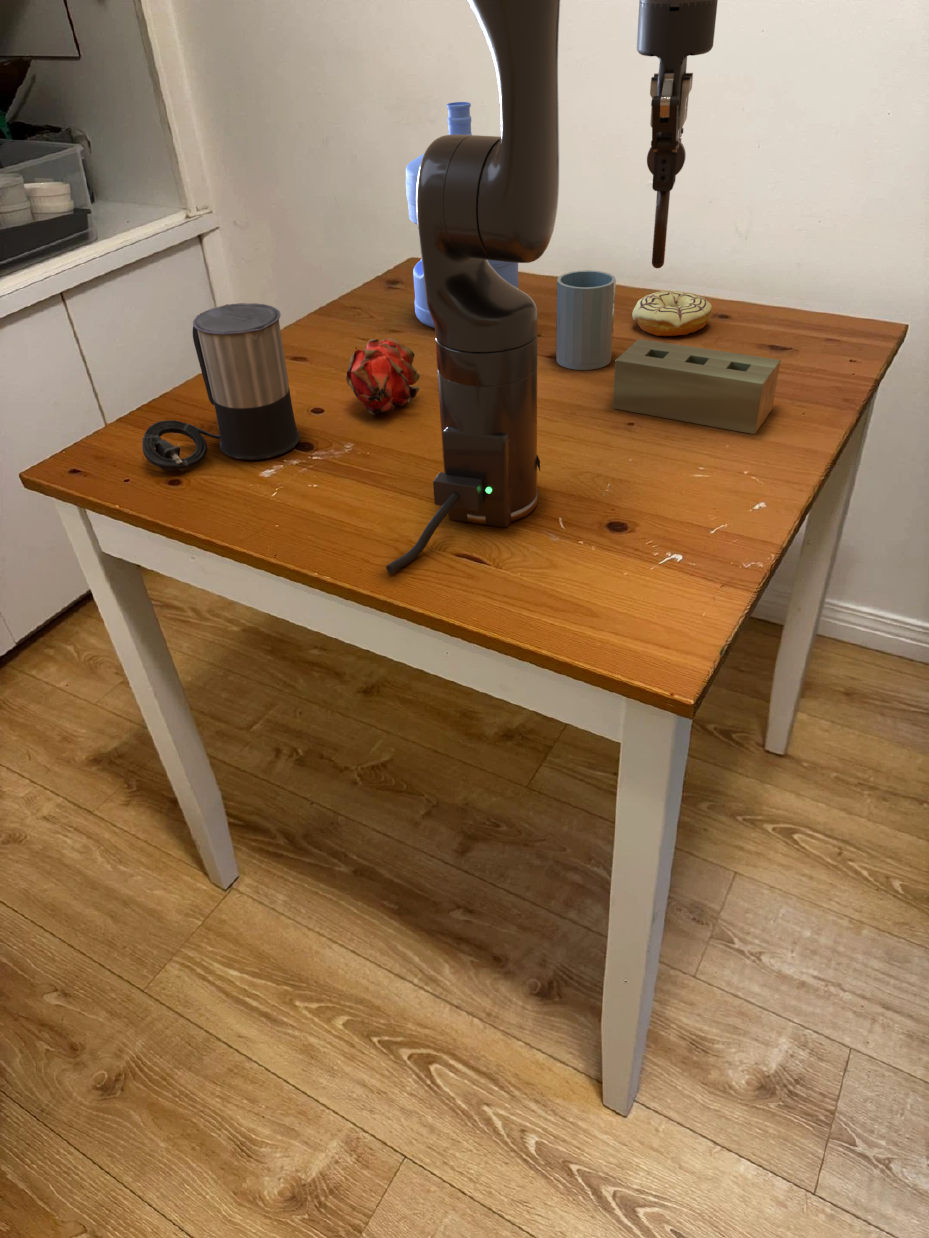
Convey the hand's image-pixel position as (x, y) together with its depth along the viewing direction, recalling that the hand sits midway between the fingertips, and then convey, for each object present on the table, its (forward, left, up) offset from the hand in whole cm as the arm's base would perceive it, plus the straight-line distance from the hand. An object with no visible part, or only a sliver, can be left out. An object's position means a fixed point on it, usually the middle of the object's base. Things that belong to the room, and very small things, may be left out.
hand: (663, 187), depth 100 cm
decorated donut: (+22, +1, -23) cm, 32 cm away
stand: (-5, -6, -23) cm, 24 cm away
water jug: (+20, +31, -23) cm, 44 cm away
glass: (+7, +10, -23) cm, 26 cm away
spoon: (0, 0, -9) cm, 9 cm away
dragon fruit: (-13, +30, -23) cm, 40 cm away
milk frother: (-29, +43, -23) cm, 57 cm away
